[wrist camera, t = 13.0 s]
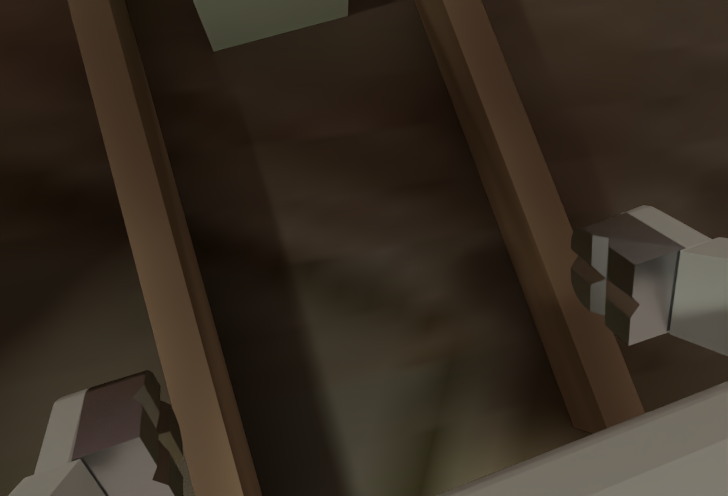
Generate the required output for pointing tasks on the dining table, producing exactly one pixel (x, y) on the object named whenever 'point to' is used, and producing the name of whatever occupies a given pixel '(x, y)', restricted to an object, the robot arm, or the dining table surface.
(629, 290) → the robot arm
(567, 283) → the bay
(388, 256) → the dining table surface
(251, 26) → the cream tall block
